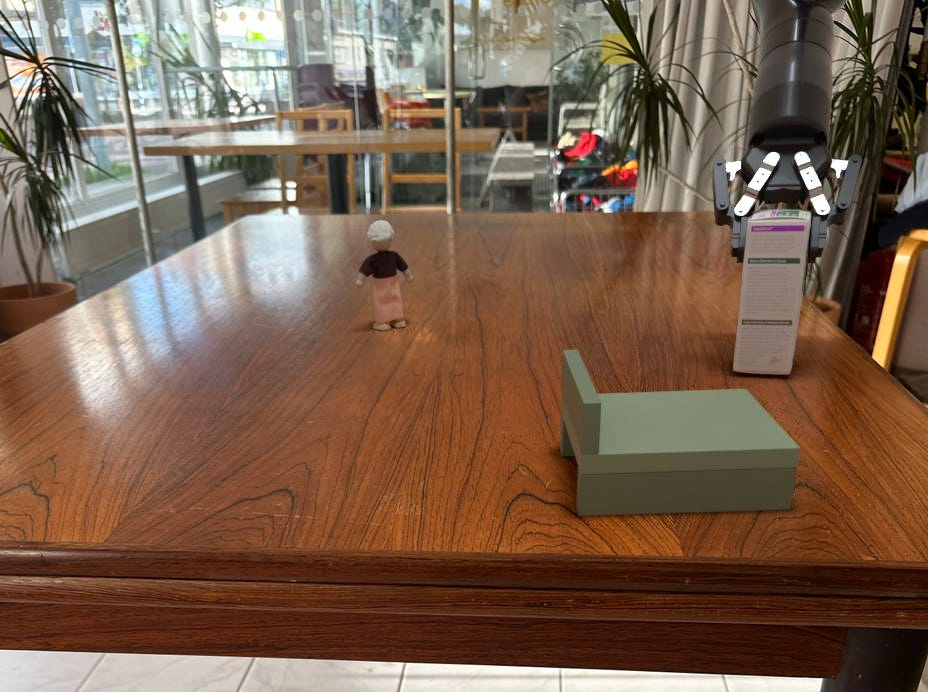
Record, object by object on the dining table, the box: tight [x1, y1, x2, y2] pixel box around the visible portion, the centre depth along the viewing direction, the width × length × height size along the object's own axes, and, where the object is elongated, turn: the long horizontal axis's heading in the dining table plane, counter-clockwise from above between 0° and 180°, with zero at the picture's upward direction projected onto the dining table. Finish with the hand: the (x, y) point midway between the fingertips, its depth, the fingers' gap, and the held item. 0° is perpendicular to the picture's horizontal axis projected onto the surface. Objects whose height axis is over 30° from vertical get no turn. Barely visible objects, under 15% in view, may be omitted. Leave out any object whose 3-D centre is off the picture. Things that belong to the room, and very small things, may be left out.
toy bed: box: [559, 349, 801, 517], centre depth 71 cm, size 15×14×9 cm
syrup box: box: [732, 208, 812, 376], centre depth 93 cm, size 6×6×14 cm
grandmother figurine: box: [355, 219, 415, 331], centre depth 117 cm, size 8×4×13 cm, turn 130°
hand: (776, 257), depth 89 cm, fingers closed on syrup box, 6 cm apart
